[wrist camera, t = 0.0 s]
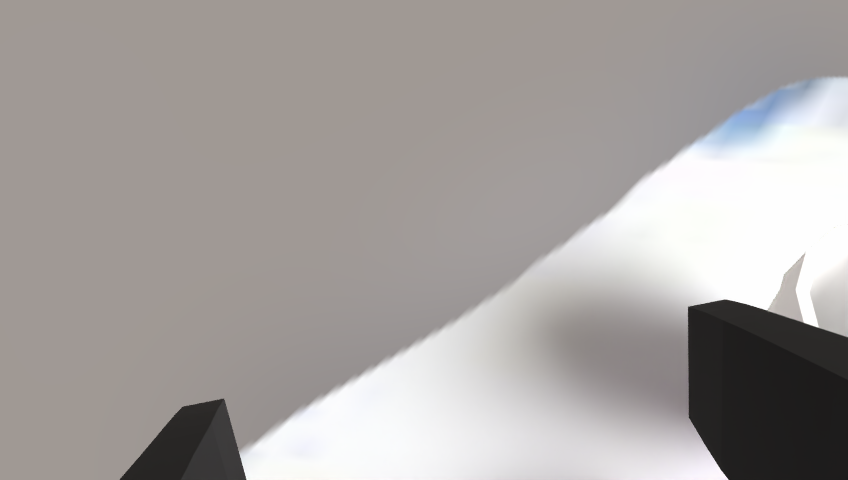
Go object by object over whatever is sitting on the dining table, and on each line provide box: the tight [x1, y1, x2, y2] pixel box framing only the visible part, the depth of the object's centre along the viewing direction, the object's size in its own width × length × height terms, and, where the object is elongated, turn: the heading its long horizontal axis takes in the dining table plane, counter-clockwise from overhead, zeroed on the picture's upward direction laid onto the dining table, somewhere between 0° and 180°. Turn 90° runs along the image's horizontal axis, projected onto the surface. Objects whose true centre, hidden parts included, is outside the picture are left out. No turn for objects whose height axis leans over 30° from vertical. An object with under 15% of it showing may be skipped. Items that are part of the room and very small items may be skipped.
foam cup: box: [767, 225, 848, 337], centre depth 38 cm, size 10×9×13 cm
